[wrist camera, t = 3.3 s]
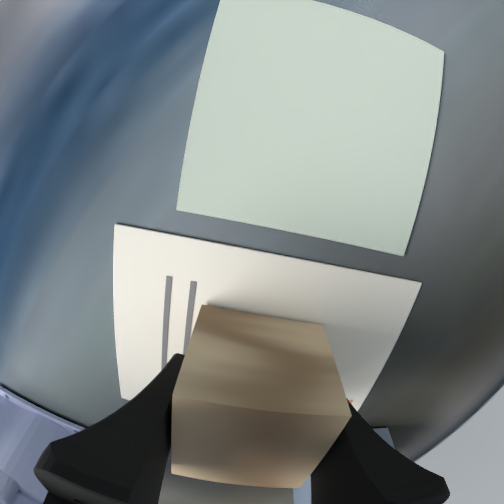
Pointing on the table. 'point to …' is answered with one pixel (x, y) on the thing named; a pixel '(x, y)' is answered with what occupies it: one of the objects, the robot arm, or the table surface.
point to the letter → (247, 303)
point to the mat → (312, 123)
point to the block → (255, 400)
